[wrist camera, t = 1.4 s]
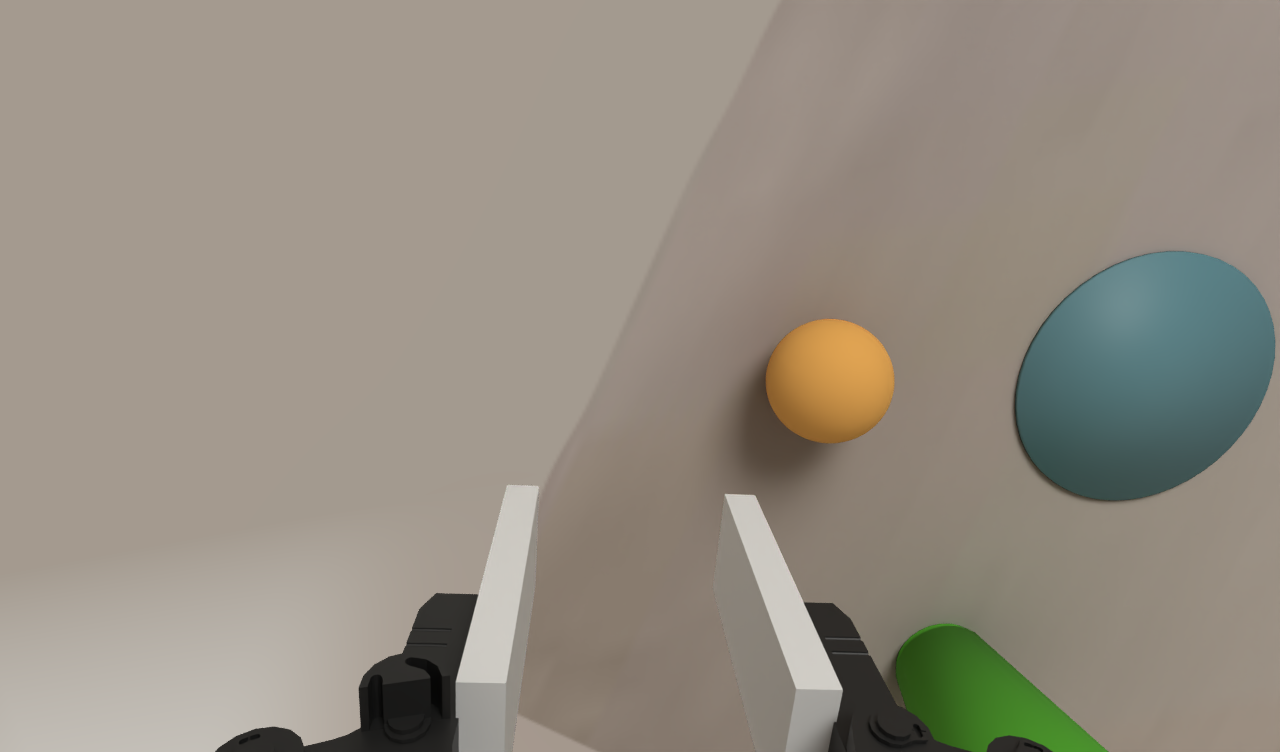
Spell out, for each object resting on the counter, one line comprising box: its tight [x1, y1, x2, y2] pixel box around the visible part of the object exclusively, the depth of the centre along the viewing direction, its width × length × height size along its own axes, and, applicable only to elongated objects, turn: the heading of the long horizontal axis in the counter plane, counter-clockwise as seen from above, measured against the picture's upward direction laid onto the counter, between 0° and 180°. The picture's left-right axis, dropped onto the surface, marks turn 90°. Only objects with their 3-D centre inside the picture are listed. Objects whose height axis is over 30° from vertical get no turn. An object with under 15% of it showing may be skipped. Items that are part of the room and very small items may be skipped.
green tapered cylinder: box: [896, 624, 1108, 752], centre depth 35 cm, size 9×9×11 cm
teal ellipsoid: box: [1015, 251, 1275, 500], centre depth 35 cm, size 13×13×1 cm
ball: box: [766, 319, 894, 443], centre depth 31 cm, size 6×6×6 cm
